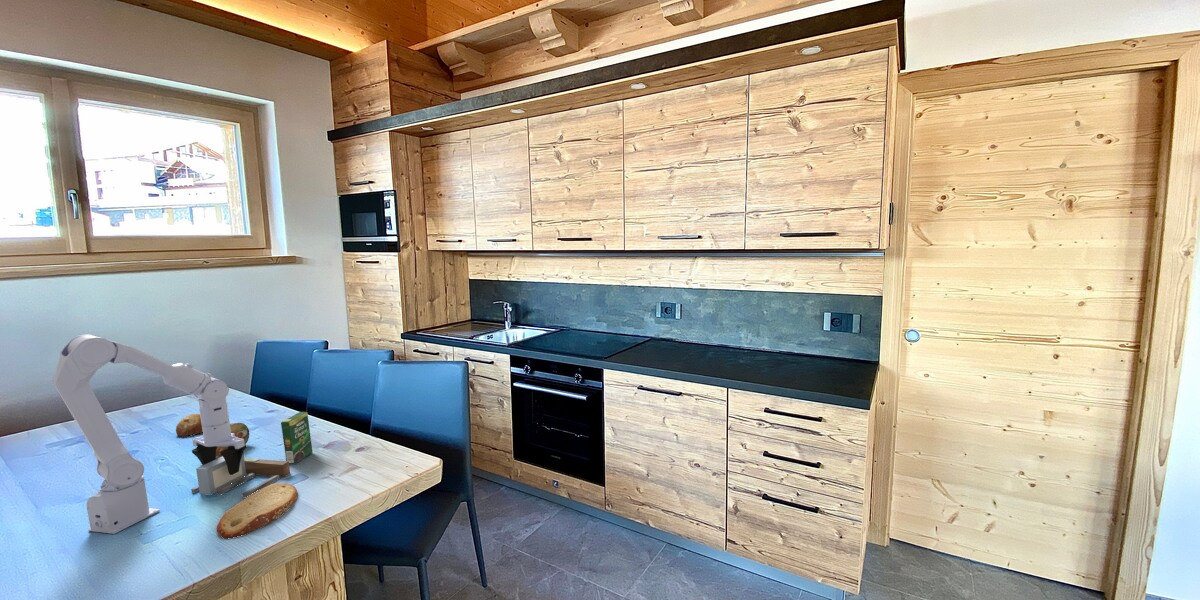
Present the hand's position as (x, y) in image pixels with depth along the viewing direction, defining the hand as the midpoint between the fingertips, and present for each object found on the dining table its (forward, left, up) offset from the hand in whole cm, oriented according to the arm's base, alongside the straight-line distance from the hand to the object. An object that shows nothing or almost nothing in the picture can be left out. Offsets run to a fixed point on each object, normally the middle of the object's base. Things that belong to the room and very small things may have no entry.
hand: (222, 472), depth 130 cm
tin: (+17, +19, -4) cm, 25 cm away
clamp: (+1, -4, -3) cm, 6 cm away
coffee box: (+17, -8, -4) cm, 19 cm away
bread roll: (+31, +49, -4) cm, 58 cm away
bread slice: (-10, -22, -4) cm, 24 cm away
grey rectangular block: (0, 0, -4) cm, 4 cm away
